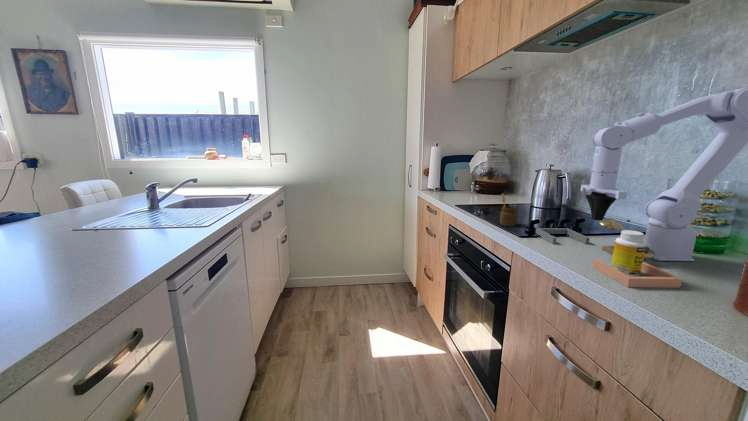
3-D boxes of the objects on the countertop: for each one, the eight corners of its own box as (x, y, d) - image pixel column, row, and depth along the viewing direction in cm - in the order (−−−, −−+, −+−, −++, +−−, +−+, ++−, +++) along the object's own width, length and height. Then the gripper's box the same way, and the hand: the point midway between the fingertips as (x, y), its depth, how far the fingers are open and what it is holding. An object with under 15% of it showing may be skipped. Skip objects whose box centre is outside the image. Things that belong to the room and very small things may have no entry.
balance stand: (622, 249, 86) (626, 231, 85) (646, 259, 78) (650, 240, 77) (601, 249, 86) (604, 231, 85) (623, 259, 78) (627, 239, 77)
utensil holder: (510, 227, 111) (513, 196, 108) (495, 223, 116) (498, 194, 113) (519, 224, 114) (522, 194, 112) (504, 221, 119) (506, 192, 117)
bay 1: (552, 243, 91) (553, 237, 91) (535, 233, 102) (535, 228, 102) (588, 244, 91) (589, 238, 91) (567, 233, 102) (568, 228, 101)
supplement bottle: (633, 279, 66) (642, 237, 64) (605, 271, 71) (612, 231, 69) (644, 274, 69) (652, 233, 67) (616, 266, 74) (623, 227, 72)
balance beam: (612, 220, 89) (615, 214, 88) (659, 258, 74) (664, 251, 73) (595, 220, 89) (598, 214, 88) (639, 258, 74) (643, 251, 73)
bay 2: (637, 267, 73) (638, 259, 73) (680, 287, 63) (682, 279, 62) (592, 266, 74) (593, 259, 73) (627, 287, 63) (629, 278, 63)
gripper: (573, 170, 87) (567, 214, 90) (610, 174, 73) (601, 226, 76) (596, 169, 87) (590, 214, 90) (638, 174, 73) (629, 226, 76)
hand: (597, 219), depth 83 cm, fingers closed
